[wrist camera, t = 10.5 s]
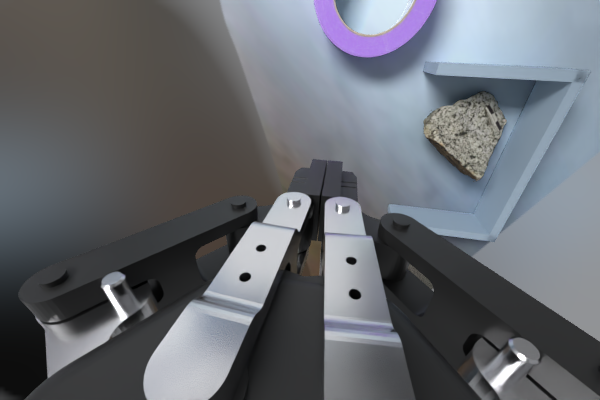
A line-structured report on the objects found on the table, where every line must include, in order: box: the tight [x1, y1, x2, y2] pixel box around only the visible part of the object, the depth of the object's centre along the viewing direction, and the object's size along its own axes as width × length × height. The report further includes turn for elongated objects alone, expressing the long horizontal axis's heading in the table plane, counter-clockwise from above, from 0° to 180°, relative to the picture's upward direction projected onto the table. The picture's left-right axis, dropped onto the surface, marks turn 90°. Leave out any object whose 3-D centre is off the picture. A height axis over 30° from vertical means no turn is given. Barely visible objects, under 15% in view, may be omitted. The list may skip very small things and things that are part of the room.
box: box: [388, 62, 591, 242], centre depth 31 cm, size 20×13×5 cm, turn 178°
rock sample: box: [424, 91, 507, 182], centre depth 29 cm, size 10×8×9 cm
